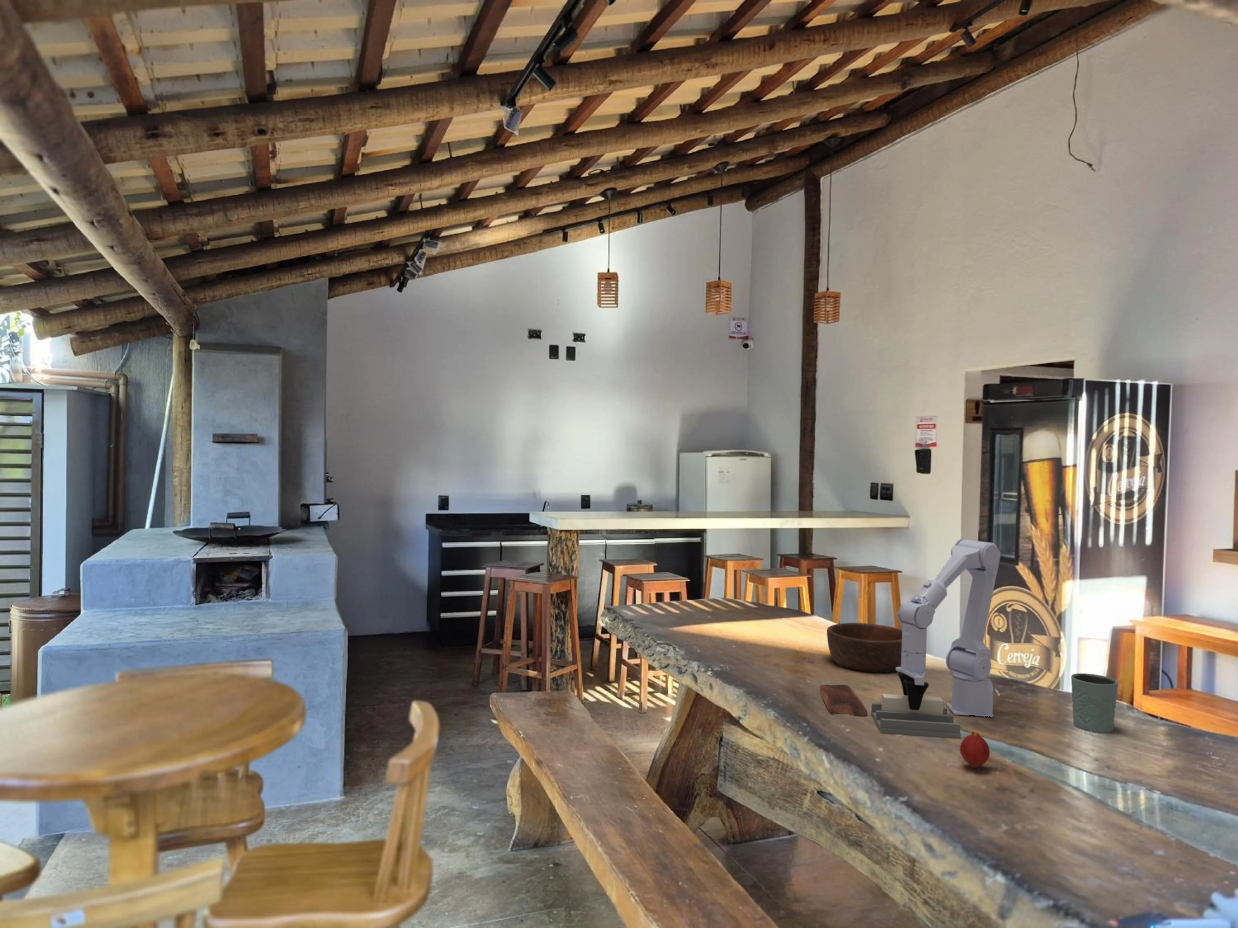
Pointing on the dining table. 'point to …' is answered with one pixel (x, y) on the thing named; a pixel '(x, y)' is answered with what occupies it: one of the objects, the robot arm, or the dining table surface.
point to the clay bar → (902, 705)
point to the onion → (974, 750)
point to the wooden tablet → (842, 700)
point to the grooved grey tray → (915, 723)
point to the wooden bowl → (865, 646)
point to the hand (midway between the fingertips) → (911, 705)
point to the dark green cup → (1094, 702)
